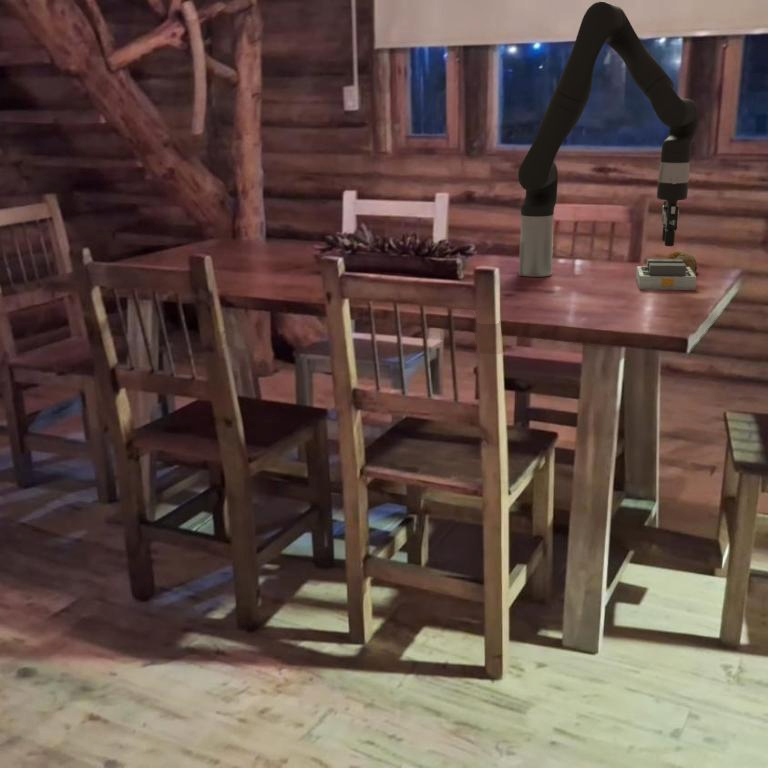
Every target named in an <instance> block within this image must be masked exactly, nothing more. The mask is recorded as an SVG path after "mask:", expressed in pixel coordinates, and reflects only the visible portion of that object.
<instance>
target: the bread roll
mask: <svg viewBox="0 0 768 768" xmlns="http://www.w3.org/2000/svg"><path fill="white" fill-rule="evenodd" d="M664 259H682V260H683V263H685V265H686V267H690V268H691V270H692V271H693V273H694V274H695V275H696V274H698V272H697V269H698V264H697V260H696V258H695V257H694V256H693V255H692V254H690V253H689V252H685V251H681V250H680V251H679V250H678V251H674V252H672V253H670V254H667V255H666V256H665V257H664Z"/></svg>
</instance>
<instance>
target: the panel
mask: <svg viewBox="0 0 768 768" xmlns="http://www.w3.org/2000/svg"><path fill="white" fill-rule="evenodd" d="M685 273H686V265H685V263H649V274H648V276H685Z"/></svg>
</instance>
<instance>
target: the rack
mask: <svg viewBox="0 0 768 768" xmlns="http://www.w3.org/2000/svg"><path fill="white" fill-rule="evenodd" d="M649 263H683V260H682V259H665V258H646V266H645V265H642V266H640V265H639V266H636V276H635V279H637V280H636V283H637V285H638V290H652V291H653V290H655V291H656V290H657V291H659V290H660V291H662V290H663V291H696V282H697V276H696V274H694V273H693V271H692V270H691V268H690V267H686V273H685V276H648V274H649Z"/></svg>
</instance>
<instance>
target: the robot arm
mask: <svg viewBox="0 0 768 768" xmlns="http://www.w3.org/2000/svg"><path fill="white" fill-rule="evenodd" d="M604 44H607V46H609V47H610V48H611V49H613V50H614V51H615V52H616V54H618V55H619V57H620V59H622V61H623V62H624V64H625V66H626V68H627V70H628V73H629V75H630V76H631V78H632V80H633V81H634V83H635V84H636V86H637V87H638V88H639V89H640V91H641V93H643V94H644V95H645V97H646V98H647V99H648V100H649V101H650V104H651V107H652V109H653V111H654V113H655V115H656V117H657V118H658V119H659V121H660V122H661V123H662V124H664V126H666V127H667V128H669V131H668V136H667V138H666V139H664V140H663V142H662V145H661V154H660V155H661V156H660V163H659V164H660V165H659V168H658V176H657V177H658V178H657V188H656V198H657V199H658V200H660V201H661V200H663V205H662V207H661V208H662V209H661V212H662V213H661V222H662V224H661V225H662V235H661V236H662V237H661V239H662V241H663V242H664V246H665V247H674V245H675V234H676V231H677V229H678V223H679V214H680V206H679V205H678V201H685V200H687V199H688V190H689V179H690V159H691V149H692V148H691V145H692V142H693V140H694V136H695V132H696V129H697V125H698V120H699V110H698V106H697V103H695V102H694V101H693V100H692V99H690V98H681V97H680V96H679V95H678V94H677V92H676V91H675V89H674V87H675V86H674V82H673V80H672V79H671V77H670V76H669V75H668V73H667V72H666V71H665V70H664V69H663V67H662V66H661V65H660V64H659V62H658V61H657V60H656V59H655V58H654V56H653V55H652V54H651V53H650V52H649V50H648V49H647V48H646V46H645V45H644V43H642V41H641V39H640V38H639V36H638V34H637V33H636V31H635V29H634V28H633V26H632V24H631V22H630V20H629V18H628V16H627V15H626V13H625V11H624V10H623V9H622V8H621V7H620V6H619V5H616V4H613V3H611V2H607V1H604V0H602V1H601V0H600V1H596V2H595V3H592V5H590V6H589V7H588V8H587V10H586V11H585V13H584V15H583V17H582V19H581V23H580V26H579V28H578V32H577V35H576V38H575V40H574V44H573V47H572V50H571V53H570V55H569V58H568V60H567V62H566V64H565V67H564V69H563V72H562V74H561V76H560V78H559V81H558V83H557V85H556V88H555V89H554V92H553V94H552V96H551V99H550V101H549V104H548V106H547V109H546V112H545V114H544V115H543V117H542V121H541V123H540V126H539V128H538V131H537V134H536V136H535V138H534V141H533V143H531V144H532V145H531V146H530V148H529V150H528V151H527V154H526V155H525V157H524V159H523V161H522V162H521V165H520V166H519V169H518V173H517V174H518V175H517V177H518V178H517V179H518V182H519V185H520V187H521V188H523V190H525V196H524V201H523V202H522V204H521V207H520V242H519V265H518V266H519V268H518V269H519V270H518V271H519V273H518V275H519V276H522V277H523V276H524V277H533V278H535V277H536V278H539V277H542V278H543V277H549V276H552V274H553V249H554V247H553V246H554V245H553V243H554V238H553V237H554V217H555V216H554V213H555V206H556V204H557V196H558V182H559V181H558V180H559V179H558V177H559V174H558V167H557V165H556V163H555V158H556V156H557V154H558V152H559V150H560V148H561V146H562V144H563V143H564V142H565V140H566V139H567V138H568V136H569V135H570V134H571V132H572V131H573V130H574V128H575V127H576V125H577V123H578V122H579V121H580V118H581V116H582V114H583V112H584V110H585V109H586V106H587V103H588V101H589V99H590V95H591V92H592V86H593V77H594V71H595V70H594V69H595V65H596V62H597V59H598V56H599V54H600V52H601V50H602V48H603V47H604Z"/></svg>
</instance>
